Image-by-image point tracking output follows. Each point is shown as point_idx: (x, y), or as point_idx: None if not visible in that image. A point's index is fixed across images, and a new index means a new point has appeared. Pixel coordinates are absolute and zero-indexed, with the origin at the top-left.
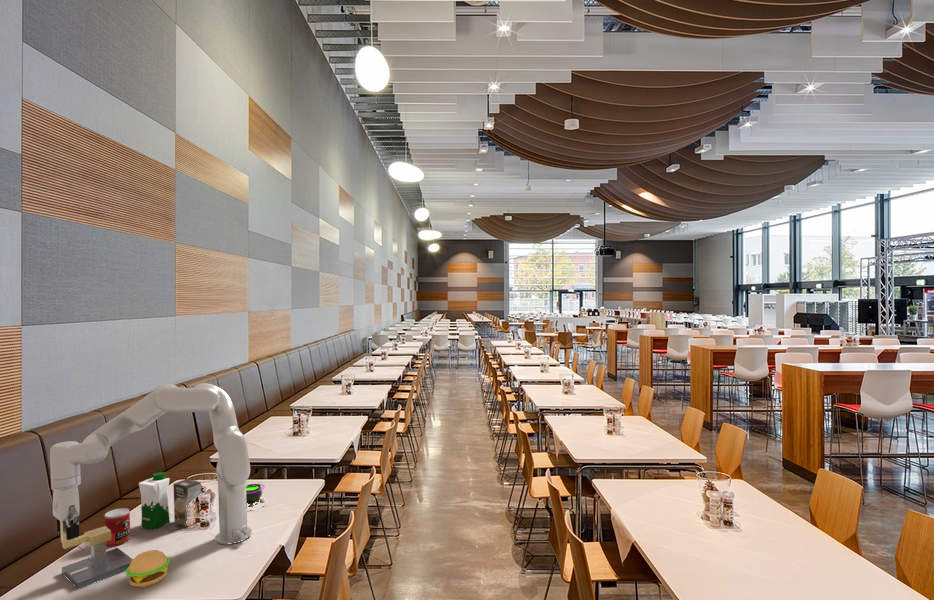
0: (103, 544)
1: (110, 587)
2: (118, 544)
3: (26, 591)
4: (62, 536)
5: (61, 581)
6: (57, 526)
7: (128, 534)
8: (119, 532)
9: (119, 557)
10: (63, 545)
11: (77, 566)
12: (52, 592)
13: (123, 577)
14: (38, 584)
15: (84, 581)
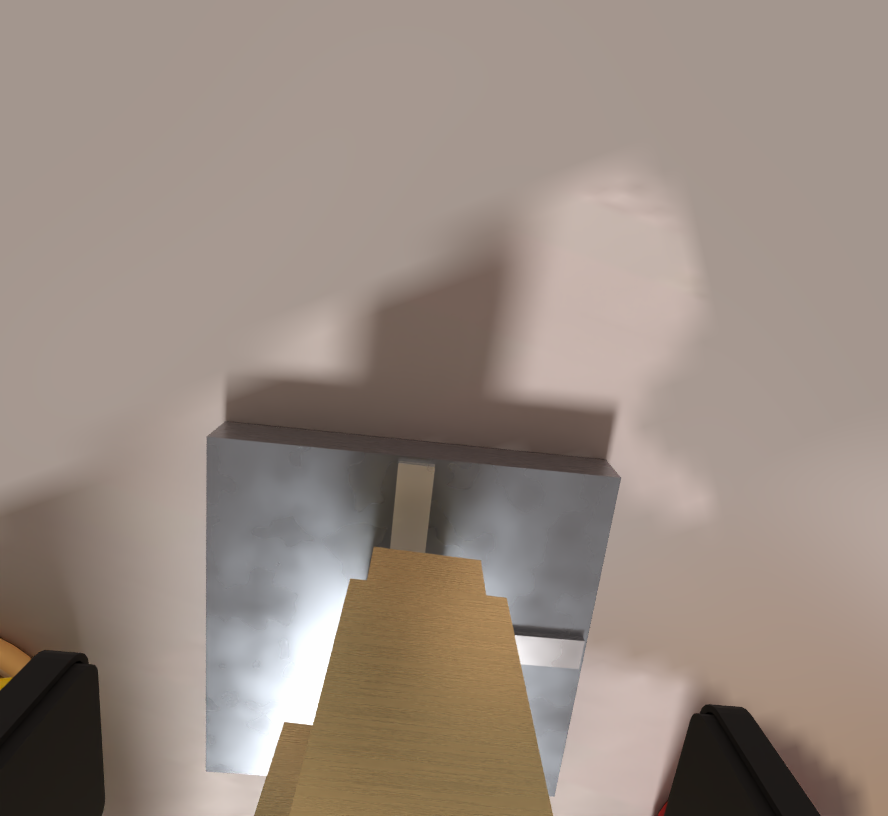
0: None
1: (61, 546)
2: (662, 811)
3: (560, 205)
4: (382, 667)
5: (475, 409)
6: (775, 810)
7: None
8: None
9: None
10: (425, 573)
11: (516, 544)
12: (352, 308)
13: (138, 643)
14: (593, 301)
15: (210, 477)
